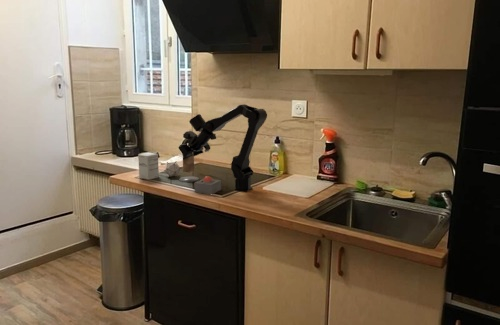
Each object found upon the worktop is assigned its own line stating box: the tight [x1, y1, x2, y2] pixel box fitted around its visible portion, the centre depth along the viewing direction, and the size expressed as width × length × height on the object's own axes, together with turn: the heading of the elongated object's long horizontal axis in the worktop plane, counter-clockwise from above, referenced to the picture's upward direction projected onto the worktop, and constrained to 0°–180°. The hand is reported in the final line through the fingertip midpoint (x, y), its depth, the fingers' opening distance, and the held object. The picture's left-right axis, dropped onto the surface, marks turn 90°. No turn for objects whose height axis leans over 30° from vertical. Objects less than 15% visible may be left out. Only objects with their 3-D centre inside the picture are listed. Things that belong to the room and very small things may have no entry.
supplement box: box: [137, 151, 160, 181], centre depth 214 cm, size 7×7×13 cm
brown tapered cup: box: [182, 153, 195, 173], centre depth 210 cm, size 4×4×9 cm
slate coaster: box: [178, 175, 200, 183], centre depth 212 cm, size 10×10×1 cm
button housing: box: [193, 178, 222, 195], centre depth 191 cm, size 9×9×4 cm
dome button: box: [203, 175, 213, 183], centre depth 191 cm, size 4×4×6 cm
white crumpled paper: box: [163, 160, 183, 178], centre depth 217 cm, size 9×8×10 cm
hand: (186, 158), depth 210 cm, fingers closed on brown tapered cup, 4 cm apart
